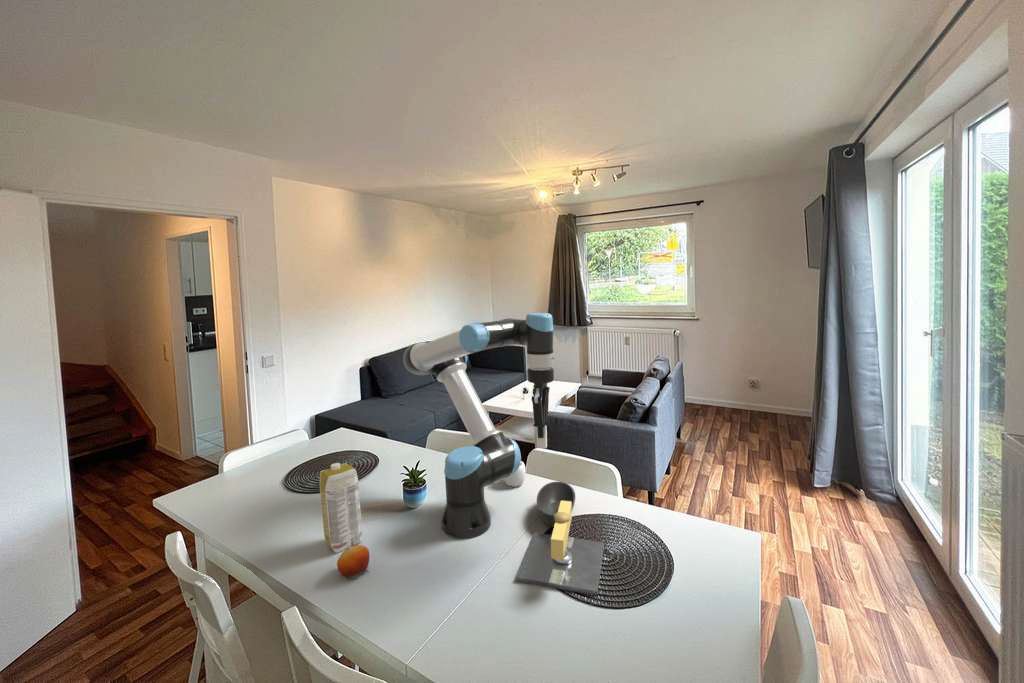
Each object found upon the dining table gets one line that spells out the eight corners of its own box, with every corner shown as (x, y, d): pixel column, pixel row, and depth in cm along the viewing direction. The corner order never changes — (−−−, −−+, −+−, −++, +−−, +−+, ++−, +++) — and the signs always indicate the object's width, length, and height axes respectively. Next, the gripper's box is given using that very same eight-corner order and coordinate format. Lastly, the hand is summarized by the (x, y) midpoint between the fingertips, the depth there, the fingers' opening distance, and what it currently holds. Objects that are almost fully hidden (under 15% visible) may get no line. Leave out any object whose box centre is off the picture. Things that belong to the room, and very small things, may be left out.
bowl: (576, 499, 148) (576, 482, 147) (573, 536, 126) (573, 517, 125) (541, 497, 150) (541, 480, 149) (532, 533, 128) (532, 513, 128)
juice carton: (353, 531, 132) (347, 456, 129) (365, 542, 126) (359, 464, 123) (322, 545, 125) (315, 466, 122) (333, 557, 120) (326, 474, 116)
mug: (527, 479, 164) (526, 459, 163) (524, 489, 156) (523, 468, 155) (496, 477, 166) (495, 458, 165) (491, 487, 158) (490, 467, 157)
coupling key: (559, 516, 123) (559, 497, 122) (573, 518, 122) (573, 498, 121) (549, 557, 105) (548, 535, 104) (565, 560, 104) (565, 537, 103)
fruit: (356, 583, 106) (343, 553, 108) (340, 589, 110) (327, 559, 112) (381, 565, 113) (369, 536, 114) (365, 571, 117) (353, 543, 119)
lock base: (515, 581, 108) (515, 554, 107) (534, 536, 127) (534, 513, 126) (597, 595, 102) (597, 567, 101) (604, 546, 121) (604, 522, 120)
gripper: (548, 372, 115) (550, 457, 118) (557, 363, 128) (558, 440, 131) (521, 371, 117) (523, 454, 120) (533, 363, 130) (534, 438, 133)
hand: (541, 447), depth 126 cm, fingers closed
